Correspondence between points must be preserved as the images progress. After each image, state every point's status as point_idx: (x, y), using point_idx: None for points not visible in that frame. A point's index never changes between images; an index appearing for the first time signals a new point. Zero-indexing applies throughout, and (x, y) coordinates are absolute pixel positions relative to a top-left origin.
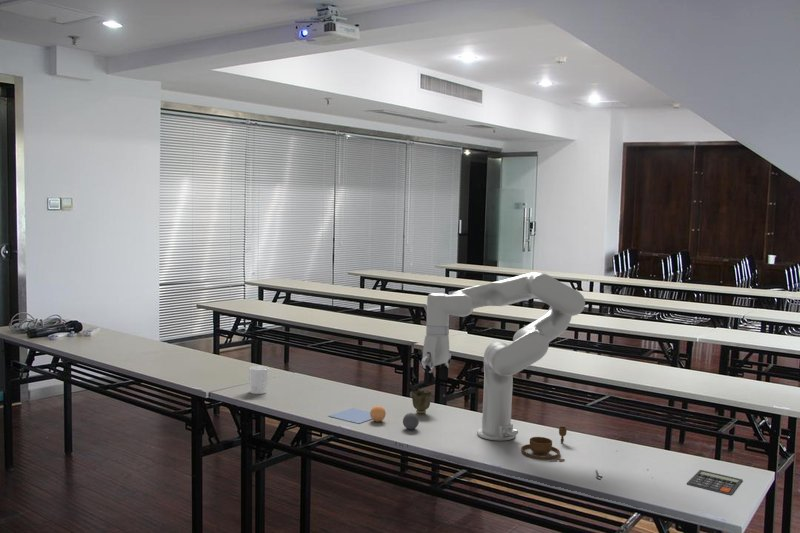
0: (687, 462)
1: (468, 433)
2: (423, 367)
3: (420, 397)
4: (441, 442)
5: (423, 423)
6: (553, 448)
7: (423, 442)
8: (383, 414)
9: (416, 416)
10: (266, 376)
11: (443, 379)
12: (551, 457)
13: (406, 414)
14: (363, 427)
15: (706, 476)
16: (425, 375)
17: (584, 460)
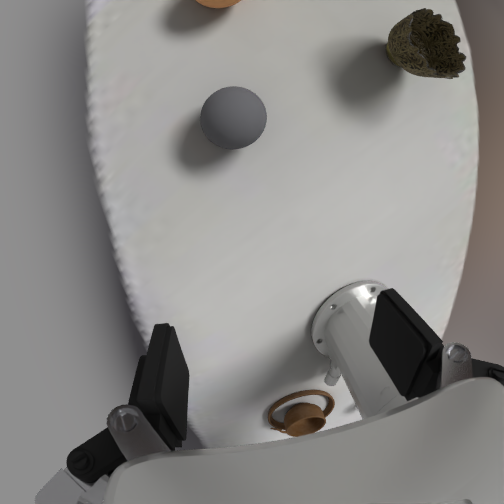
0: None
1: (328, 272)
2: (75, 460)
3: (412, 50)
4: (200, 275)
5: (321, 110)
6: (328, 411)
7: (156, 243)
8: (217, 3)
9: (243, 138)
10: None
11: (375, 319)
12: (283, 427)
13: (224, 98)
14: (129, 18)
15: None
16: (132, 393)
17: None
